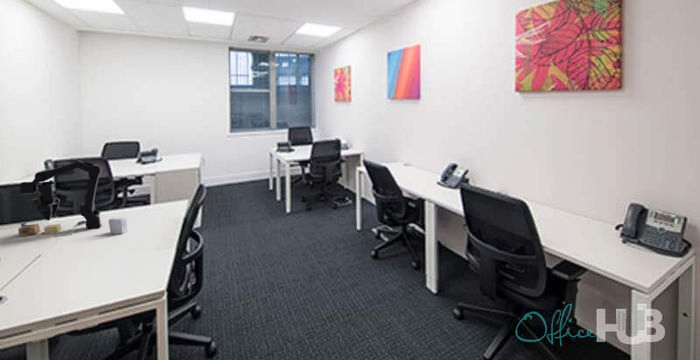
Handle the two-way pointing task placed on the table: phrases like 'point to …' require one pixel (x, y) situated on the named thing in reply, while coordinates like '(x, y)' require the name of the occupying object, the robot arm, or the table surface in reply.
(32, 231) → the plane block
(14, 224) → the table surface
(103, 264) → the table surface
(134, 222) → the table surface
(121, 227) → the medicine box
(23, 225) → the lever
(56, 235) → the glass plate
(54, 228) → the brass block
